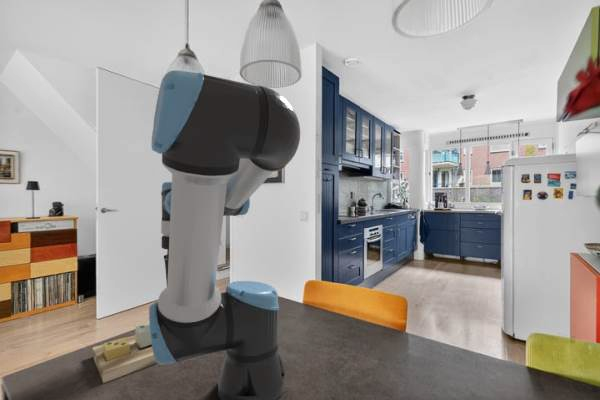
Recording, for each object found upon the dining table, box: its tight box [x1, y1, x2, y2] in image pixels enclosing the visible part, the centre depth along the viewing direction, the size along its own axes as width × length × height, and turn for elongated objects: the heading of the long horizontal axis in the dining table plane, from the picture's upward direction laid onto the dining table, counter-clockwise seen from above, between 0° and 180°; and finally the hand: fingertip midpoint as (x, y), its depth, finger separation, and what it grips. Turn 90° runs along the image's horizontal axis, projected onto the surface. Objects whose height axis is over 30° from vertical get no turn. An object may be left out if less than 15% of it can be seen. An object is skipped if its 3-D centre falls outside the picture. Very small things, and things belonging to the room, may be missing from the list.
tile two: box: [134, 322, 152, 348], centre depth 79 cm, size 5×5×4 cm
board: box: [92, 334, 158, 384], centre depth 79 cm, size 15×23×2 cm, turn 134°
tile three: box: [102, 337, 130, 362], centre depth 74 cm, size 5×5×4 cm
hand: (175, 313), depth 85 cm, fingers closed
